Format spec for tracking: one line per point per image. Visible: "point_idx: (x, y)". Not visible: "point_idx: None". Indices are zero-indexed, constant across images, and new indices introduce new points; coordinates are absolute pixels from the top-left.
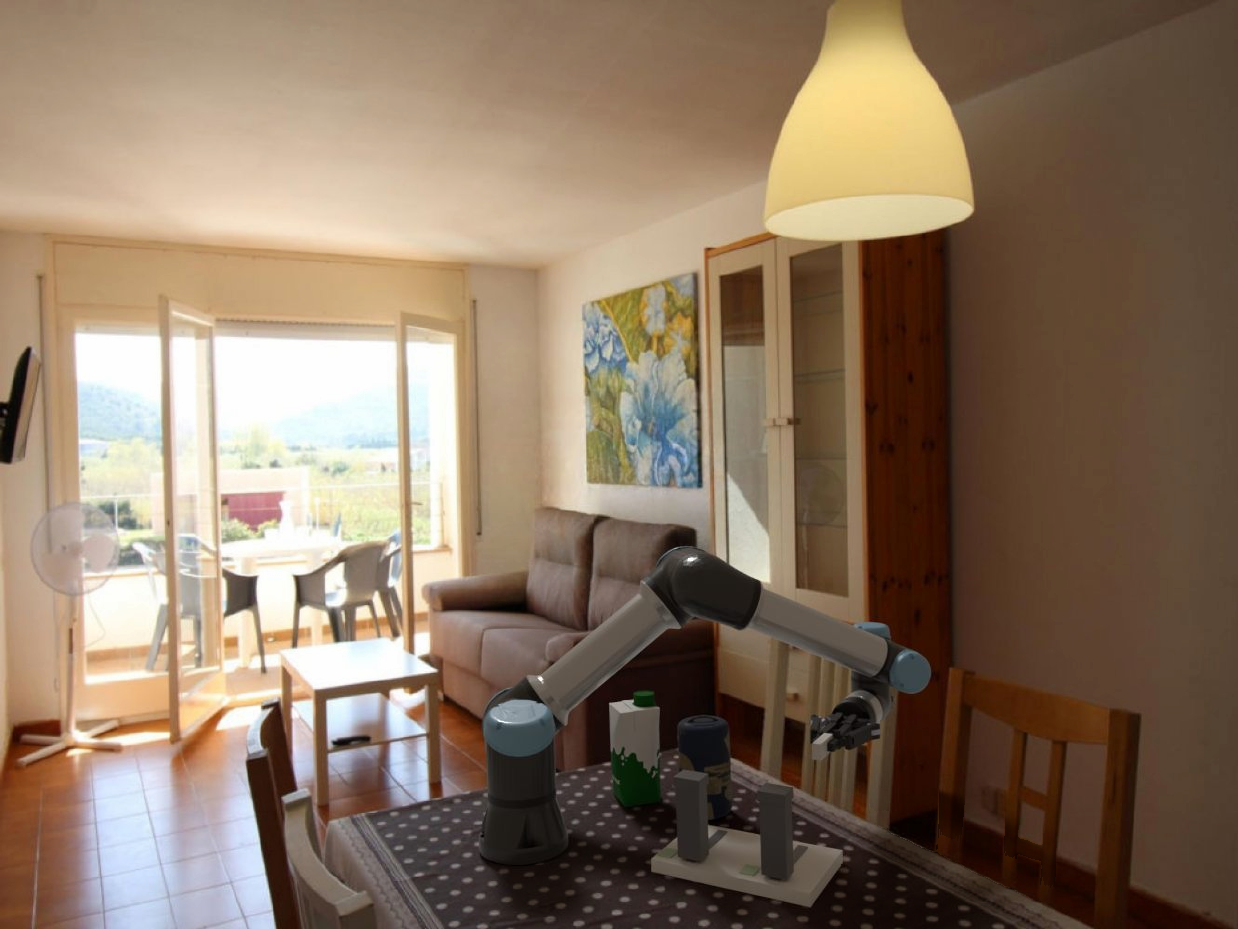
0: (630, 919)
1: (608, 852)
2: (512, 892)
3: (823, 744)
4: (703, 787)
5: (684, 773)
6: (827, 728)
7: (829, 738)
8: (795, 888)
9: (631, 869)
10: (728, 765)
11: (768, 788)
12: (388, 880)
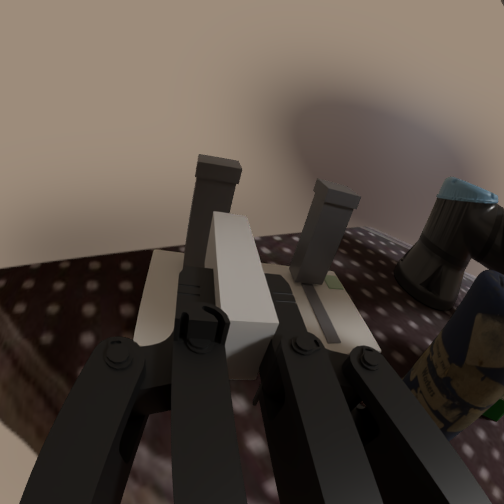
0: (281, 234)
1: (385, 298)
2: (364, 246)
3: (213, 234)
4: (318, 194)
5: (348, 190)
6: (327, 430)
7: (216, 282)
8: (171, 253)
9: (344, 281)
10: (446, 369)
11: (228, 162)
12: (411, 246)
